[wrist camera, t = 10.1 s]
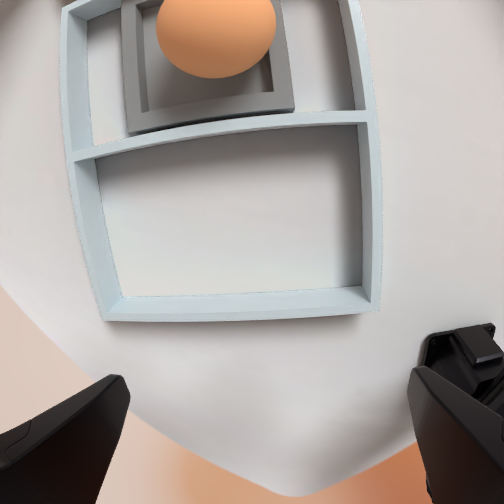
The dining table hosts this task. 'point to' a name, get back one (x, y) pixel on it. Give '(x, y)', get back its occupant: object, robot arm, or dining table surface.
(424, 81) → the dining table surface
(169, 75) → the square tray
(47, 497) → the robot arm
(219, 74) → the ball
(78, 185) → the two compartment tray
